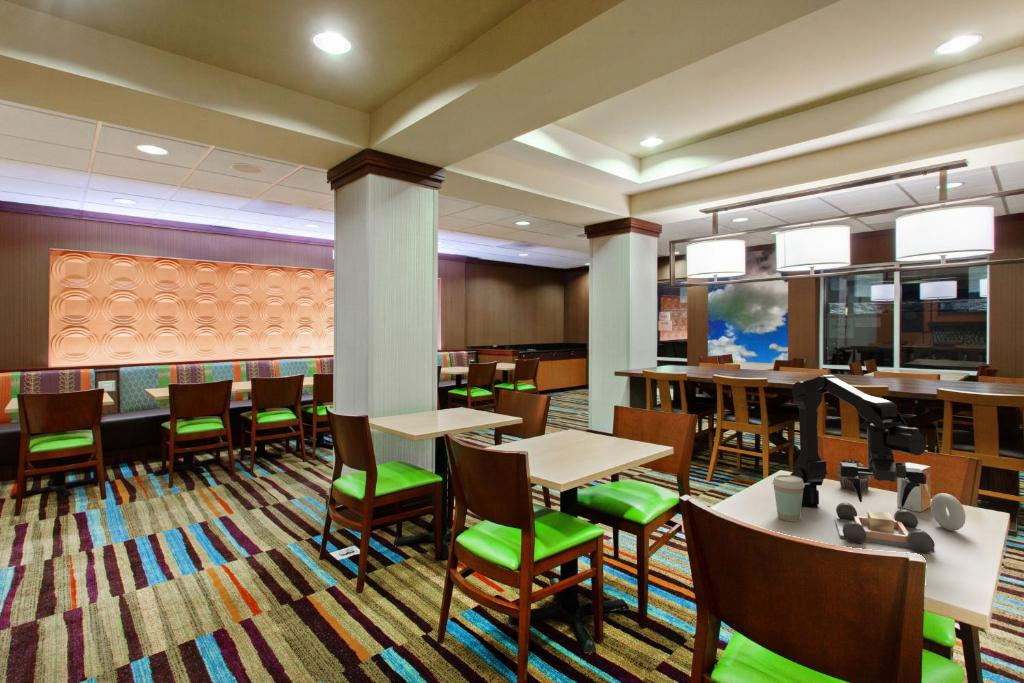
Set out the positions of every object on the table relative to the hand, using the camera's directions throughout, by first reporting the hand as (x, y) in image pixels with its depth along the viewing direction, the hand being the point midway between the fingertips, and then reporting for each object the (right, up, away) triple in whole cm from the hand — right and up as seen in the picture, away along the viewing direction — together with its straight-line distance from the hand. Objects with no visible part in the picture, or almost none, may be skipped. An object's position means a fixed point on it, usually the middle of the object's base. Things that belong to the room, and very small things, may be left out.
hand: (881, 504), depth 138 cm
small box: (+26, -8, +21) cm, 34 cm away
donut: (+21, -8, +3) cm, 23 cm away
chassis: (0, -9, 0) cm, 9 cm away
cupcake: (+20, -8, +41) cm, 46 cm away
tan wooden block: (0, -8, 0) cm, 8 cm away
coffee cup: (-17, -9, +14) cm, 24 cm away
